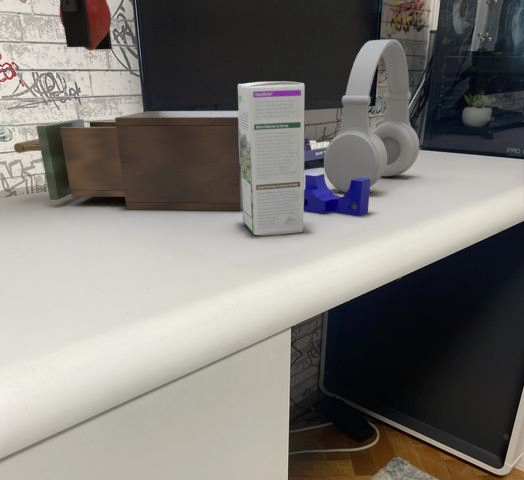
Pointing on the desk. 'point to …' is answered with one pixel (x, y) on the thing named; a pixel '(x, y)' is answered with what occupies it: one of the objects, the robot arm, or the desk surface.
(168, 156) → the cabinet
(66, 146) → the drawer
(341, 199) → the cable holder
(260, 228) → the syrup box
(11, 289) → the desk surface
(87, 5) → the onion
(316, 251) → the desk surface
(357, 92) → the headphones
